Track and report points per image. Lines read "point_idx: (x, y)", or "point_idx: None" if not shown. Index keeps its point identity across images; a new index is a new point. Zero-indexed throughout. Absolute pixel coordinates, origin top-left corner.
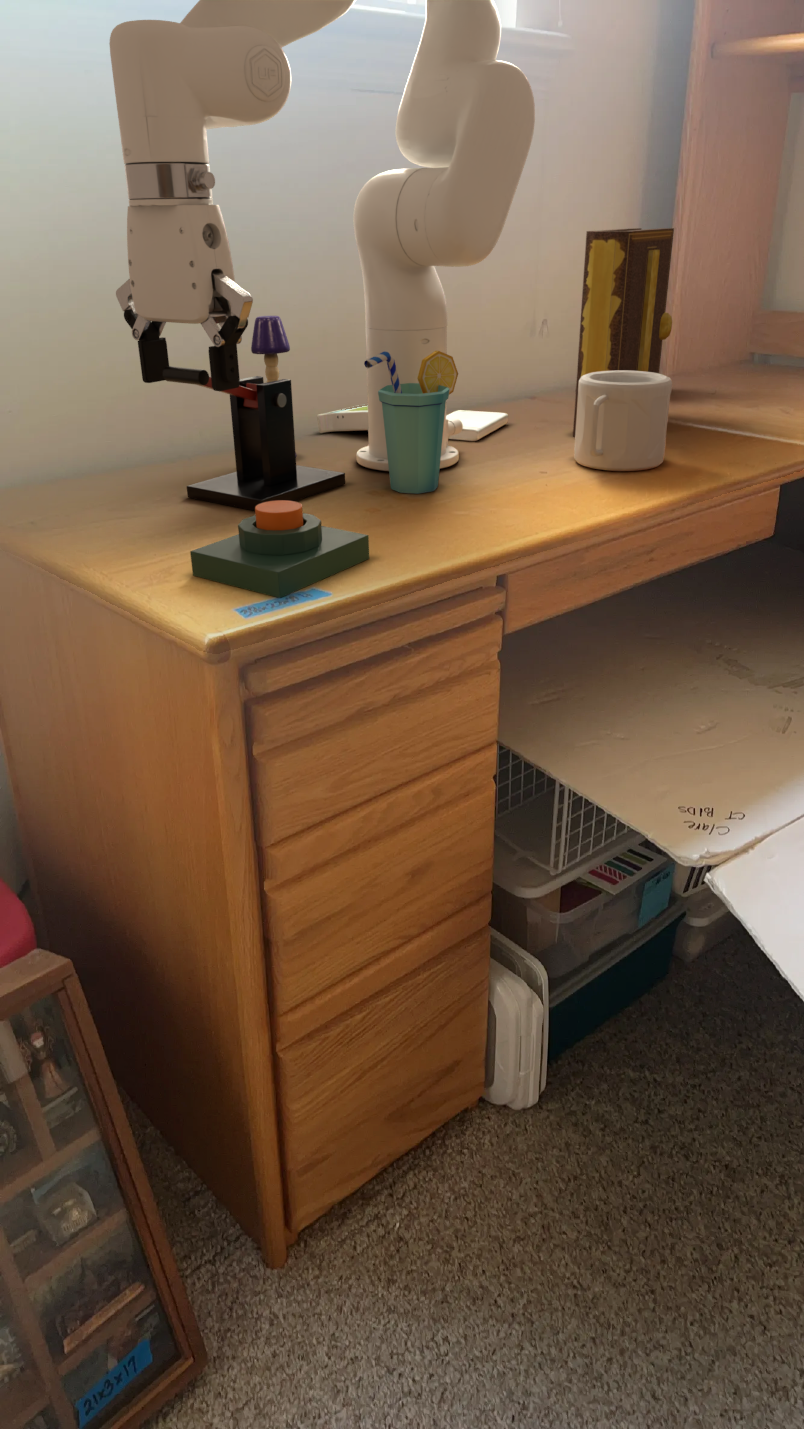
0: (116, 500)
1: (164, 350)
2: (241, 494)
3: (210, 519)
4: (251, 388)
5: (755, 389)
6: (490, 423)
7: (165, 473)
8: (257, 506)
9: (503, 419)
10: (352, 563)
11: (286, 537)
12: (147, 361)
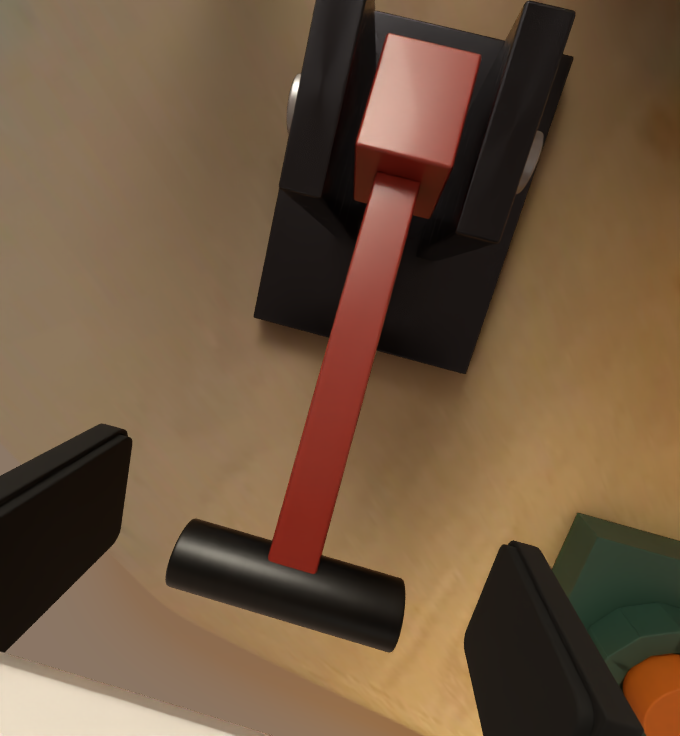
0: (145, 372)
1: (36, 511)
2: (404, 346)
3: (385, 434)
4: (390, 169)
5: None
6: None
7: (86, 136)
8: (648, 729)
9: None
10: None
11: None
12: (61, 590)
